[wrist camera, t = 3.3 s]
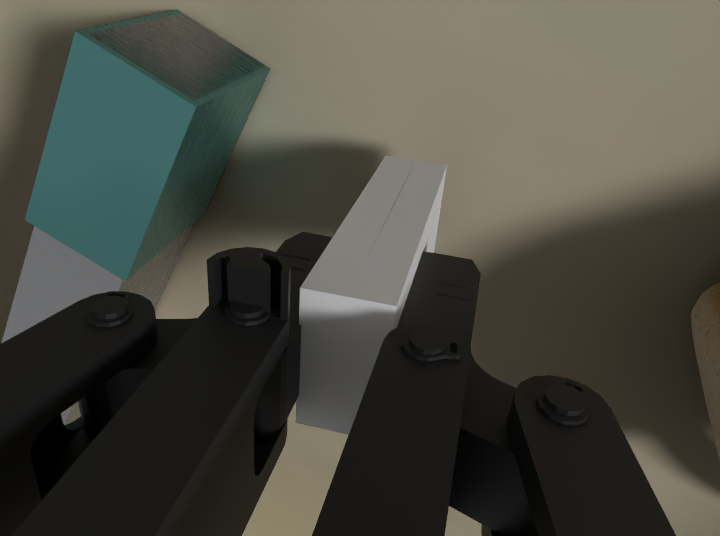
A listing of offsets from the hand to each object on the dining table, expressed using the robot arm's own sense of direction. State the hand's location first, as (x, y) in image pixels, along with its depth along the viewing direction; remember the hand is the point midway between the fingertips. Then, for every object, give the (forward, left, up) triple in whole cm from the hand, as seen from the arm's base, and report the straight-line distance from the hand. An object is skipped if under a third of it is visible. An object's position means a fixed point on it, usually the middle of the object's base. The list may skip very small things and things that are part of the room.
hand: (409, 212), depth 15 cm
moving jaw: (-8, +13, -2) cm, 16 cm away
